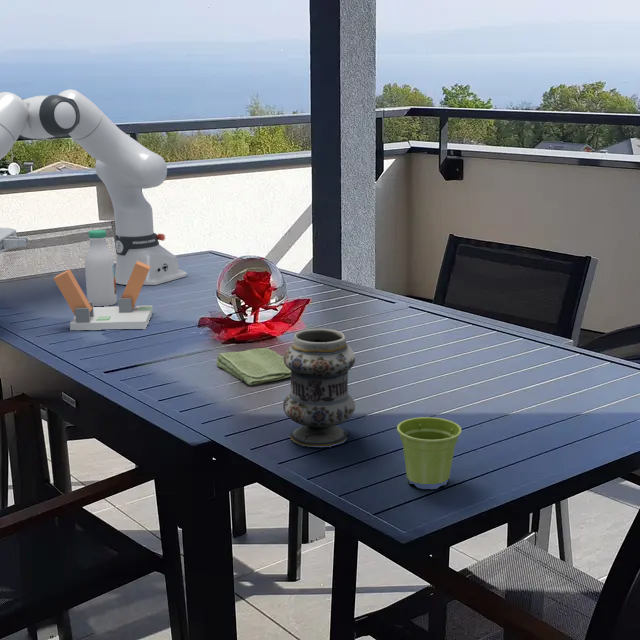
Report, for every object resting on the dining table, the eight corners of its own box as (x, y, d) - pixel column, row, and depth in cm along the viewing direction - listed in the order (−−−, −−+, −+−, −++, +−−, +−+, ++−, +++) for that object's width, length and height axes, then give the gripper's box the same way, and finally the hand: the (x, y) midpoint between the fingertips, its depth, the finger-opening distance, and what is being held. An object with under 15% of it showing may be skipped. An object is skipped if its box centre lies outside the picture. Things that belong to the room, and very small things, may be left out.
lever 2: (120, 301, 233) (137, 260, 230) (133, 306, 233) (150, 265, 231) (118, 305, 229) (135, 263, 226) (131, 310, 229) (149, 269, 227)
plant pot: (396, 468, 141) (397, 415, 138) (457, 470, 140) (459, 417, 138) (395, 495, 132) (396, 439, 129) (461, 497, 131) (463, 441, 129)
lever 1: (80, 316, 224) (56, 275, 221) (93, 310, 224) (70, 268, 221) (77, 321, 220) (53, 279, 217) (90, 314, 220) (66, 272, 216)
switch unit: (82, 314, 234) (80, 294, 233) (152, 313, 235) (151, 292, 234) (70, 331, 219) (68, 309, 217) (145, 329, 220) (144, 307, 219)
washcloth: (249, 390, 178) (248, 374, 177) (212, 366, 193) (212, 352, 192) (307, 379, 184) (307, 363, 183) (267, 357, 199) (267, 342, 198)
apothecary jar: (359, 450, 148) (359, 343, 143) (285, 453, 147) (283, 346, 142) (350, 423, 159) (350, 324, 155) (282, 425, 158) (280, 326, 154)
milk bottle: (113, 307, 242) (108, 233, 236) (84, 307, 242) (78, 233, 237) (120, 300, 249) (115, 228, 244) (92, 300, 249) (86, 228, 244)
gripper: (-49, 237, 204) (14, 235, 205) (-22, 223, 224) (35, 222, 225) (-46, 264, 206) (17, 263, 207) (-19, 248, 226) (37, 247, 227)
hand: (26, 242), depth 216 cm, fingers closed
